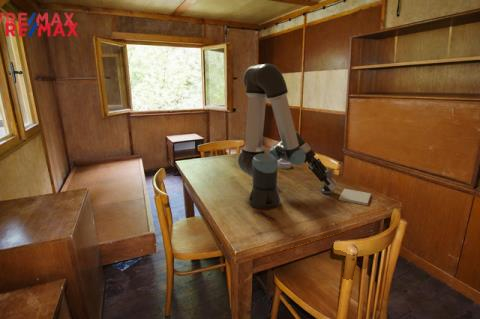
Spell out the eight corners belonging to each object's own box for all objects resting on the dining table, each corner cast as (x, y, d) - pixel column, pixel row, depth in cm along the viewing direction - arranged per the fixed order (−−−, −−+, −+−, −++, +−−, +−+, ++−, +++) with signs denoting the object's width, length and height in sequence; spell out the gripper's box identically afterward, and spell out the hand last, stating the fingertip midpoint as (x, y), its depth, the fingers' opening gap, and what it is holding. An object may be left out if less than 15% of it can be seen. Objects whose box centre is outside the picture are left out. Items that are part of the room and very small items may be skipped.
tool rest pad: (367, 205, 128) (367, 203, 128) (338, 199, 134) (339, 197, 134) (370, 195, 139) (371, 193, 138) (344, 190, 145) (344, 188, 145)
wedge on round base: (274, 163, 194) (279, 168, 182) (275, 154, 192) (280, 159, 180) (287, 162, 195) (292, 168, 183) (287, 153, 194) (293, 158, 181)
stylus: (331, 195, 139) (333, 173, 136) (319, 193, 142) (320, 171, 139) (334, 191, 145) (336, 170, 141) (322, 188, 148) (324, 168, 144)
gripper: (305, 152, 135) (336, 189, 132) (315, 145, 149) (344, 179, 146) (295, 161, 139) (324, 197, 136) (305, 153, 153) (333, 186, 150)
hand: (334, 187), depth 141 cm, fingers closed on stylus, 4 cm apart
